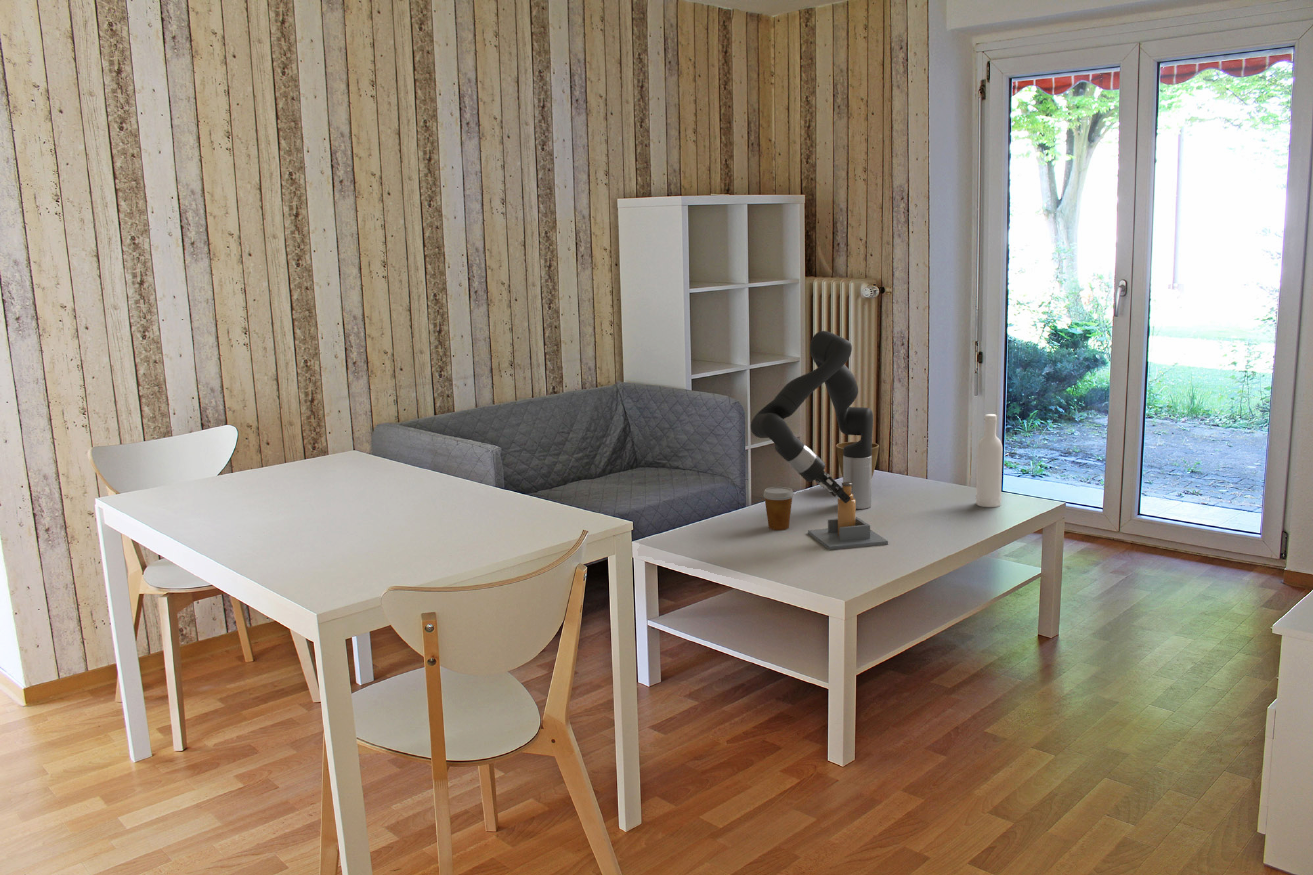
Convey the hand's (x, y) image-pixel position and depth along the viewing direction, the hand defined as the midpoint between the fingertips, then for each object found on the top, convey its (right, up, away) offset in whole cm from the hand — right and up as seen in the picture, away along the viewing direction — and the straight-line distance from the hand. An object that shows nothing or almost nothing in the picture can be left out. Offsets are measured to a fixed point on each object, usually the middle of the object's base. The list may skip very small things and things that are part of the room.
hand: (842, 497), depth 301 cm
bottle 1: (+2, -11, +3) cm, 12 cm away
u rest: (+2, -12, +3) cm, 13 cm away
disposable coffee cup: (-17, -11, +17) cm, 26 cm away
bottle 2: (+55, -5, +36) cm, 65 cm away
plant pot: (+17, -1, +62) cm, 64 cm away
